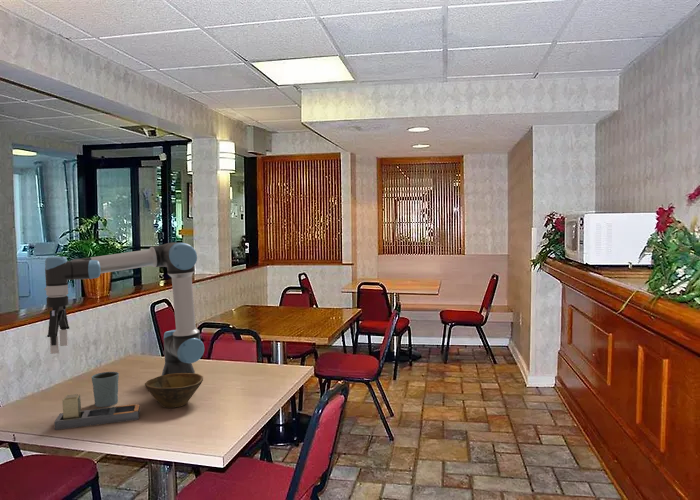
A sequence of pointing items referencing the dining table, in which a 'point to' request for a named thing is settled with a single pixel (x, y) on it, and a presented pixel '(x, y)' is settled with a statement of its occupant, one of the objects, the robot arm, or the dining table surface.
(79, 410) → the beige recessed-panel block
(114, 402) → the grey-green cup
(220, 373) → the dining table surface
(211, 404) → the dining table surface
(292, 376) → the dining table surface
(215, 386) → the dining table surface
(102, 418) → the grey compartment tray
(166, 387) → the bowl
